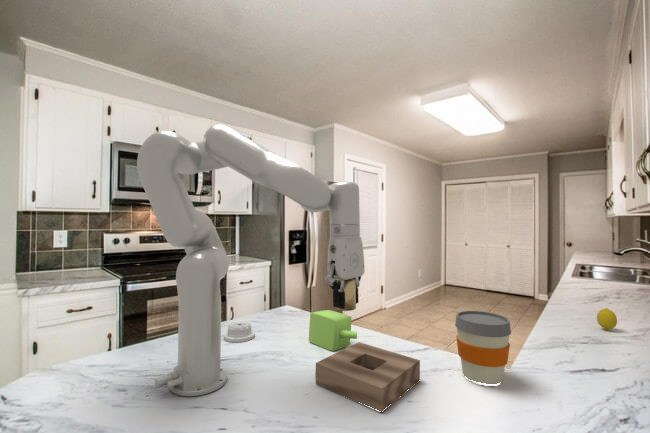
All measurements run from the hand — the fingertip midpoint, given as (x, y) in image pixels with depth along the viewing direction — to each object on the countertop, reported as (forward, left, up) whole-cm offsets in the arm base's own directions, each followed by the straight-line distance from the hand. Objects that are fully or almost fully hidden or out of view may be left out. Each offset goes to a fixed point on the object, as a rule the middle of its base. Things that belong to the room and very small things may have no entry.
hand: (346, 304), depth 81 cm
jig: (+2, -6, -18) cm, 19 cm away
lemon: (+92, -50, -18) cm, 106 cm away
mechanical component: (-1, +44, -19) cm, 47 cm away
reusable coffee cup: (+23, -26, -18) cm, 39 cm away
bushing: (0, 0, -1) cm, 1 cm away
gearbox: (+16, +17, -18) cm, 29 cm away
